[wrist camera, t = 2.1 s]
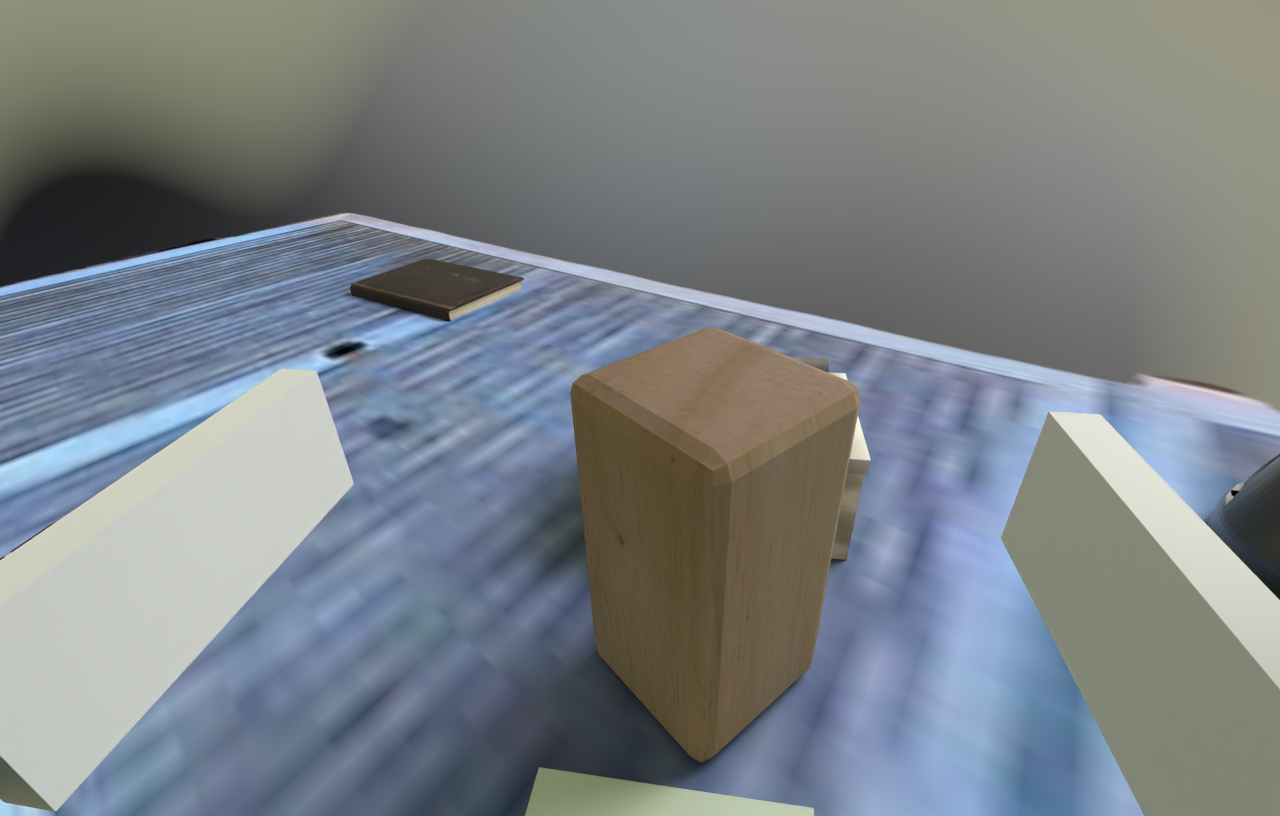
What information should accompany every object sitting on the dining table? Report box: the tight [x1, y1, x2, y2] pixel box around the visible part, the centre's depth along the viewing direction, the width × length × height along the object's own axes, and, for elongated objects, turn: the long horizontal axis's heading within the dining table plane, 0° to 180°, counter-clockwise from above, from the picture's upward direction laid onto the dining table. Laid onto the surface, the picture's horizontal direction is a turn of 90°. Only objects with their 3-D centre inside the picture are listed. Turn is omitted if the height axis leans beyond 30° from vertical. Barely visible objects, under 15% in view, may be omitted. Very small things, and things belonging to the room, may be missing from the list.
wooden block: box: [570, 328, 860, 763], centre depth 32 cm, size 10×10×20 cm
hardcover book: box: [350, 258, 524, 321], centre depth 97 cm, size 16×23×2 cm
